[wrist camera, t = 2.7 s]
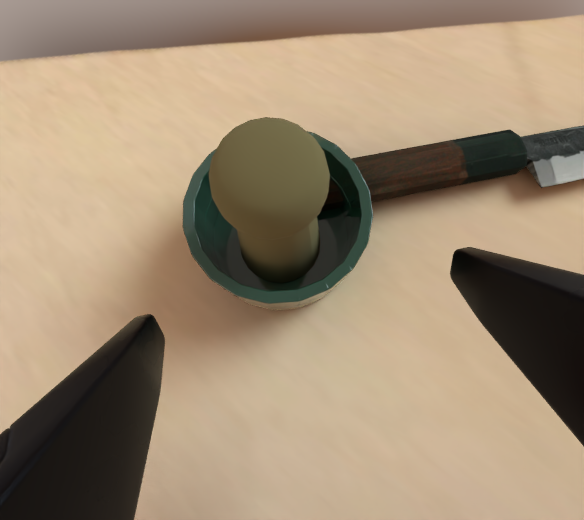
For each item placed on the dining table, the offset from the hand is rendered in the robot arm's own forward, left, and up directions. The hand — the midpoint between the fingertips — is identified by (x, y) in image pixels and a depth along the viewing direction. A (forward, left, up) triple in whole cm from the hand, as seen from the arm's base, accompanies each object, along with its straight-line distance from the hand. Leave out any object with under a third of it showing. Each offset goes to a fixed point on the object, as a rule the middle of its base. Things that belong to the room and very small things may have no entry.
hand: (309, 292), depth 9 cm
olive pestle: (+4, +4, -12) cm, 14 cm away
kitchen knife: (+19, -8, -13) cm, 25 cm away
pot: (+5, +4, -13) cm, 14 cm away
